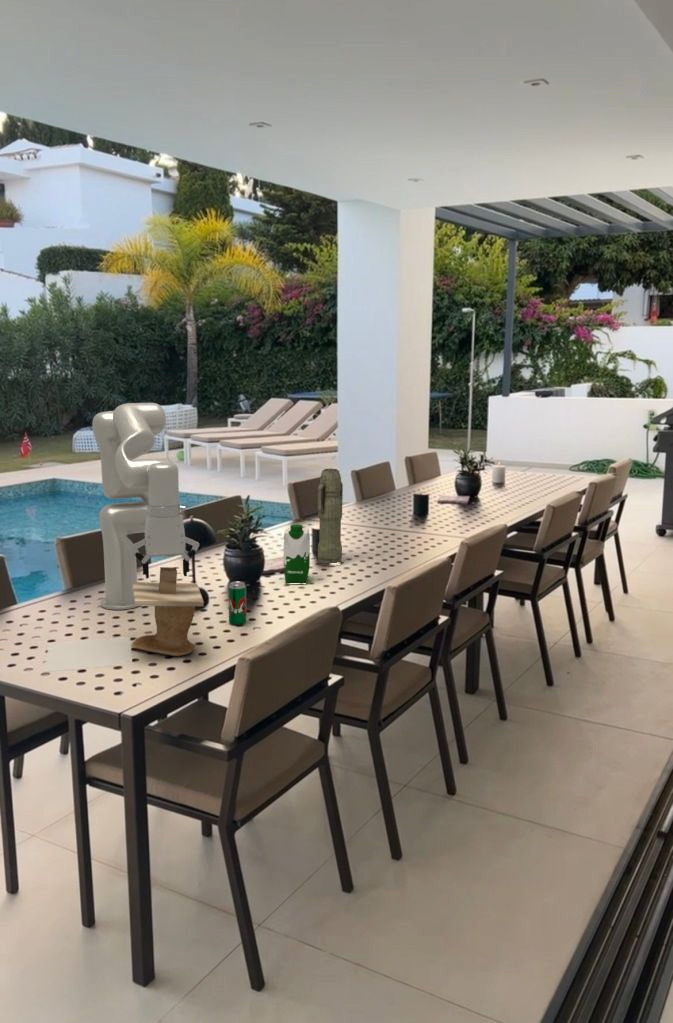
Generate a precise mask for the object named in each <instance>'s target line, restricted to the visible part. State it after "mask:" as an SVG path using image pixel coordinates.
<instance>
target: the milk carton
mask: <svg viewBox="0 0 673 1023" xmlns="http://www.w3.org/2000/svg"><path fill="white" fill-rule="evenodd" d="M283 534H284V535H283V574H284V582H285V584H286V583H306V582H308V577H309V572H310V567H311V566H310V564H311V562H310V561H311V560H310V559H311V558H310V557H311V552H310V551H311V548H310V547H311V545H310V544H311V542H310V541H311V536H310V531H309V527H308V528H307V527H306V528H305V527H303V524H298V523H297V524H291V525H290V527H286V528H285V530H284V533H283ZM306 584H307V583H306Z"/></svg>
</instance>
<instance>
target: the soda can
mask: <svg viewBox="0 0 673 1023" xmlns="http://www.w3.org/2000/svg"><path fill="white" fill-rule="evenodd" d="M245 584H246V583H245V582H244V581H236V580H235V581H232V582H229V586H228V587H227V591H228V592H227V593H228V623H229V624H230V625H232V626H243V625H245V624H246V623H247V585H245Z"/></svg>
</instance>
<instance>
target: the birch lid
mask: <svg viewBox="0 0 673 1023" xmlns="http://www.w3.org/2000/svg"><path fill="white" fill-rule="evenodd" d="M159 568H160V569H159V582H147V581H146V582H145V581H142V582H138V581H137V582H133V595H134V605H135V606H138V607H140V606H143V607H144V606H146V607H150V606H151V607H155V606H195V607H204V603H205V602H204V601H205V600H204V599H203V596H202V593H201V591H200V587H199V585H198V583H196V582H193V583H192V582H191V583H189V582H178V581H177V580H178V579H177V578H178V569H177V567H173V566H172V567H171V566H170V567H169V566H167V567H165V566H164V567H162V566H160V567H159Z"/></svg>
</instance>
